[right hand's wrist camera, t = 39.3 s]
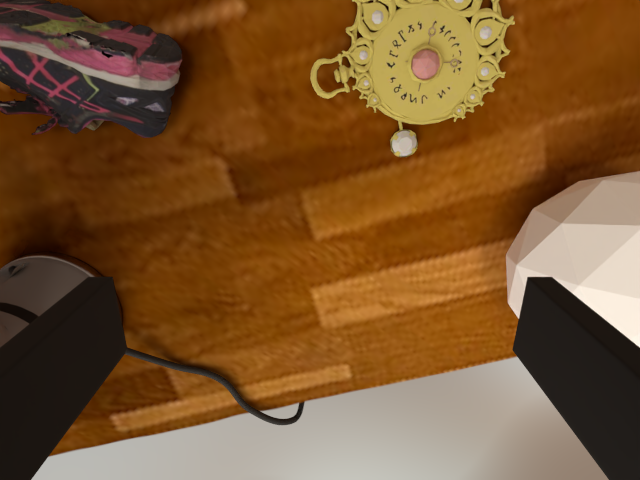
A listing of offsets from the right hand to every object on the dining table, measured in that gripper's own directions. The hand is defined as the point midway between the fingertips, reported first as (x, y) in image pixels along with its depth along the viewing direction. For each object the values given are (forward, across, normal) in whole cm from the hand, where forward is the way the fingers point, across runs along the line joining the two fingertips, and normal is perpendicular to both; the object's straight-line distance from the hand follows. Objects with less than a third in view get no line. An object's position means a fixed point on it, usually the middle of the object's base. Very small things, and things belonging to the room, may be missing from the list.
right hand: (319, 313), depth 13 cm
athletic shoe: (+32, -23, +8) cm, 40 cm away
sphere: (+32, +28, -10) cm, 44 cm away
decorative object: (+32, +9, +11) cm, 35 cm away
